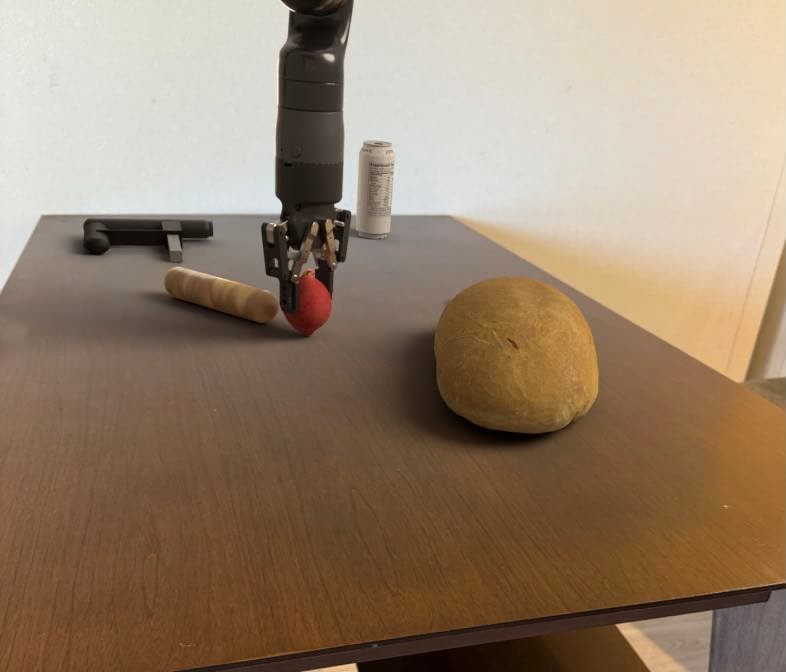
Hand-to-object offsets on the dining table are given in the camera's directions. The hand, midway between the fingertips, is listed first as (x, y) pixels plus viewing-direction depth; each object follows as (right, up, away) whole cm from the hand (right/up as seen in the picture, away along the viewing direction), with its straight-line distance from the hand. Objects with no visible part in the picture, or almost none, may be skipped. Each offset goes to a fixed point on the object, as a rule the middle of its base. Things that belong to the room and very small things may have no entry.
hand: (306, 306), depth 102 cm
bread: (+24, -10, -6) cm, 27 cm away
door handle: (-27, +17, +31) cm, 45 cm away
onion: (0, -3, +2) cm, 4 cm away
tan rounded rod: (-12, +2, +8) cm, 14 cm away
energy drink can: (+7, +26, +49) cm, 56 cm away
